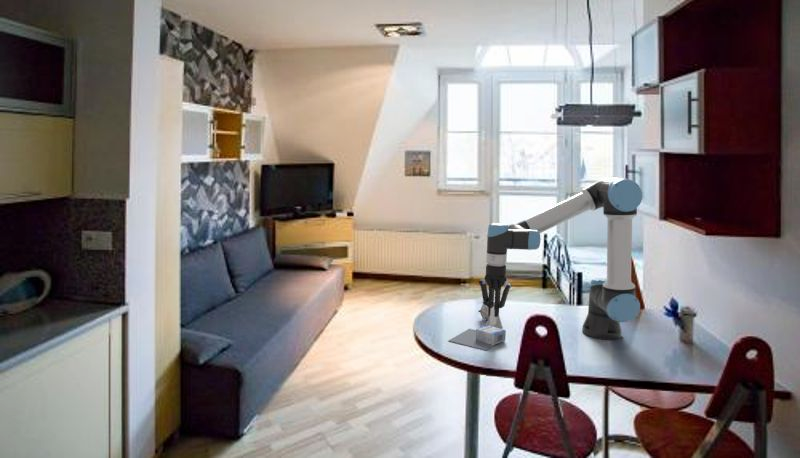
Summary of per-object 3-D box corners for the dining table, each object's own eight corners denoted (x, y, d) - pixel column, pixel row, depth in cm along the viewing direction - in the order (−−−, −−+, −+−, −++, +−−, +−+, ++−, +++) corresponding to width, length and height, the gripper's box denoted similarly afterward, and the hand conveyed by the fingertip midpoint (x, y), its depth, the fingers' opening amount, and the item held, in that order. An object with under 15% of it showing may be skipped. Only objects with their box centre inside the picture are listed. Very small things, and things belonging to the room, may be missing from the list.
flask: (484, 324, 232) (485, 301, 231) (501, 324, 232) (502, 302, 231) (486, 329, 225) (487, 306, 224) (503, 330, 225) (505, 307, 223)
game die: (489, 327, 240) (502, 308, 241) (491, 326, 231) (504, 307, 233) (472, 315, 241) (485, 297, 243) (473, 314, 233) (486, 295, 234)
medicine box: (494, 334, 205) (475, 328, 211) (493, 345, 206) (475, 339, 212) (506, 330, 211) (488, 324, 217) (505, 341, 211) (487, 335, 217)
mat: (505, 337, 216) (505, 336, 216) (486, 350, 201) (486, 349, 201) (469, 329, 225) (469, 328, 225) (448, 341, 210) (448, 340, 210)
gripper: (476, 263, 206) (473, 323, 209) (508, 268, 199) (505, 330, 202) (484, 260, 212) (481, 318, 215) (516, 264, 205) (512, 325, 208)
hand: (493, 324), depth 209 cm, fingers closed
